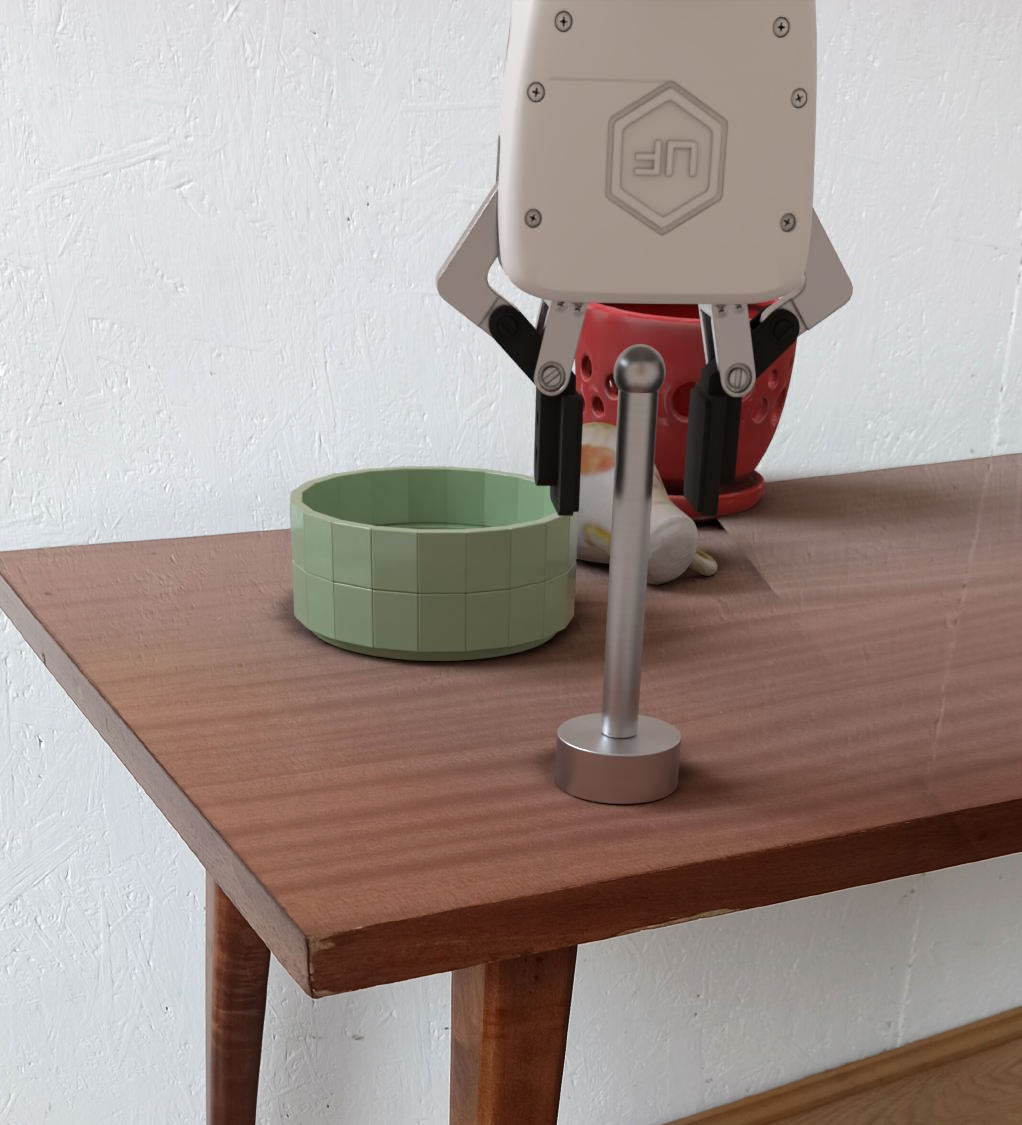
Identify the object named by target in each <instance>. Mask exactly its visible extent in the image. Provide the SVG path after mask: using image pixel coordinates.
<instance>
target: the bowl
mask: <svg viewBox="0 0 1022 1125" xmlns="http://www.w3.org/2000/svg"><path fill="white" fill-rule="evenodd" d="M289 523H290V544H291V547H290V548H291V570H292V593H293V595H292V596H293V613H294V614H293V616H294V618H295V619H296V620H298V622H300V623H301V625H302V626H304V627H305V628H306V629H307V630H309V631H311V633H313V634H314V635H315V636H316V637H317V638H319V639H320V640H322V641H323V642H325V643H328V644H330V645H332V646H334V647H337V648H340V649H343V650H347V651H350V652H354V653H358V654H361V655H367V656H372V657H379V658H386V659H392V660H393V659H394V660H403V661H404V660H405V661H416V662H417V661H420V662H452V661H453V662H456V661H457V662H461V661H475V660H483V659H490V658H498V657H503V656H509V655H513V654H518V653H522V652H525V651H528V650H531V649H534V648H536V647H539V646H541V645H543V644H545V643H547V642H548V641H550V640H551V639H552V638H554V637H555V636H556V635H557V634H558V633H559V632H561V631H563V630H565V629H566V628H567V627H568V625H569V624H570V623H571V621H572V619H574V616H575V607H576V606H575V601H576V580H577V579H576V578H577V534H578V512H574V513H573V516H558V514H557V512H556V510H555V508H554V506H553V503H552V501H551V499H550V486H536V484H535V480H534V477H533V476H531V475H527V474H522V473H515V472H510V471H509V472H508V471H502V470H495V469H488V468H478V467H476V468H475V467H463V466H462V467H461V466H451V465H449V466H446V465H444V466H441V465H440V466H439V465H437V466H436V465H431V466H430V465H427V466H426V465H410V466H409V465H406V466H405V465H403V466H390V467H375V468H374V467H373V468H363V469H356V470H349V471H343V472H337V473H332V474H327V475H324V476H321V477H317V478H313V479H311V480H307V481H305V482H303V483H302V484H300V485H299V486H297V487H296V488H294V489H293V490H291V491H290V493H289Z"/></svg>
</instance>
